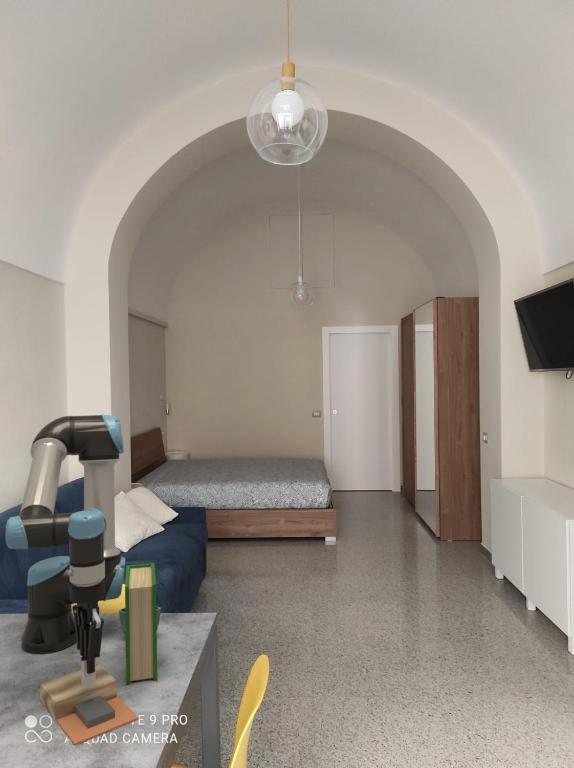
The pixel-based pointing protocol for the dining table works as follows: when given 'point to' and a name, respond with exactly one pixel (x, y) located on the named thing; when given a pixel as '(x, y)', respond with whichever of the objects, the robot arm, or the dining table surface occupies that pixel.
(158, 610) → the flower pot
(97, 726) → the mat
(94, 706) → the gray flat block
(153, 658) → the hardback book
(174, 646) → the dining table surface
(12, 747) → the dining table surface
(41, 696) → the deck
